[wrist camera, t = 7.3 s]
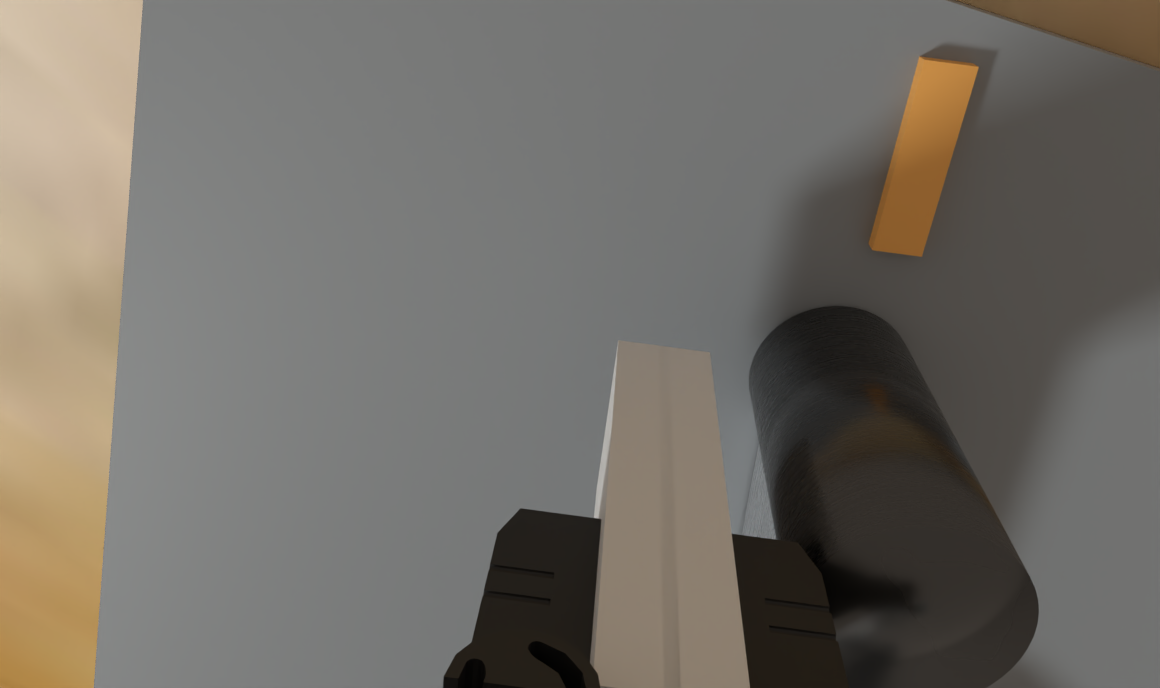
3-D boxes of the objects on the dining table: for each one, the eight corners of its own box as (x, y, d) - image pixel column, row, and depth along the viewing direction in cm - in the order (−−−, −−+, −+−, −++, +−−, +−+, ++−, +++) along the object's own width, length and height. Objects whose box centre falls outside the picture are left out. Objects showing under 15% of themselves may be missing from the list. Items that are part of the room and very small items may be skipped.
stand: (865, 969, 27) (882, 1058, 25) (122, 776, 26) (76, 854, 24) (1477, 174, 16) (1598, 217, 14) (222, -244, 15) (151, -264, 13)
